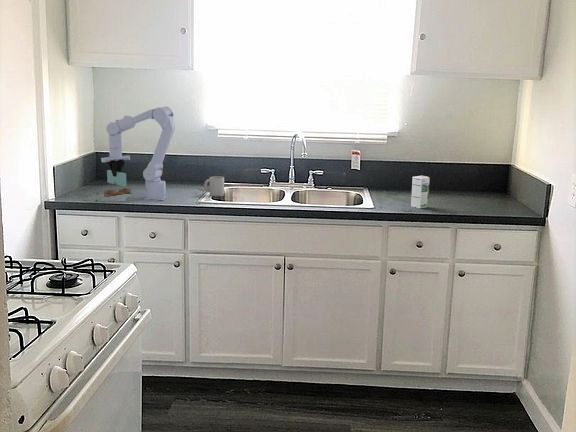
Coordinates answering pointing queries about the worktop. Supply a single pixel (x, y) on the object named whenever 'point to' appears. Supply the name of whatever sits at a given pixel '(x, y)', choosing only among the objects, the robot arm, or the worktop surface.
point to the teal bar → (116, 178)
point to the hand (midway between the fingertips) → (116, 175)
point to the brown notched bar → (114, 193)
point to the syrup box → (420, 191)
